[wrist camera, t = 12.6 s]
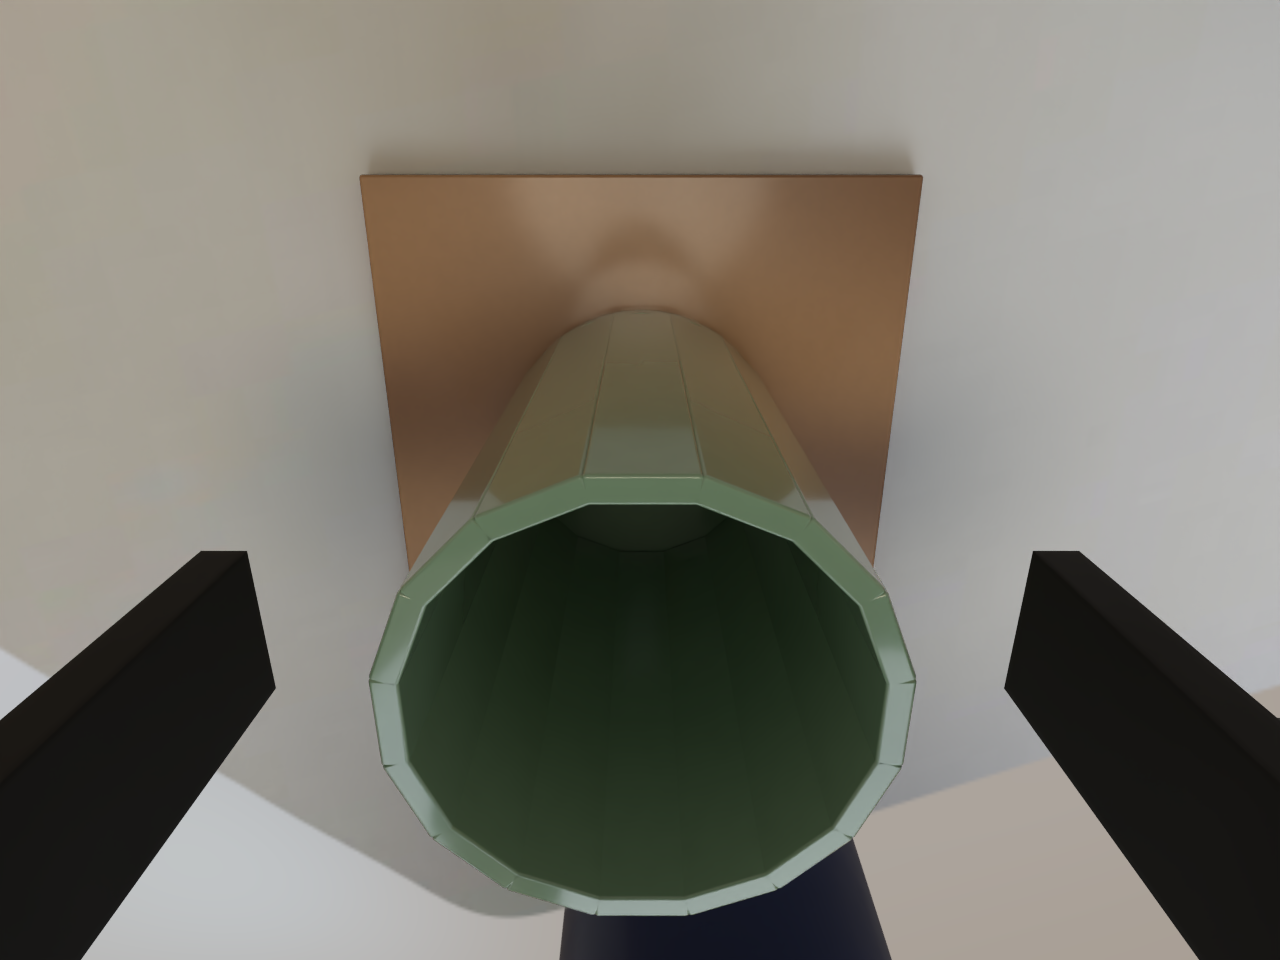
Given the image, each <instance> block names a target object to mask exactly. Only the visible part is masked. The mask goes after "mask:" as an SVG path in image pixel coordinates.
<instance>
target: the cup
mask: <svg viewBox="0 0 1280 960" xmlns="http://www.w3.org/2000/svg"><path fill="white" fill-rule="evenodd" d="M369 678H370V679H369V686H370V693H371V699H372V705H373V711H374V718H375V724H376V730H377V737H378V743H379V749H380V756H381V762H382V765H383V767H384V769H385V771H386V772H387V774H388V775H389V777H390V778H391V780H392V781H393V783H394V784H395V786H396V787H397V789H398V790H399V791H400V793H401V794H402V796H403V797H404V799H405V800H406V802H407V803H408V805H409V806H410V808H411V809H412V811H413V812H414V813H415V815H416V816H417V818H418V819H419V821H420V822H421V824H422V825H423V827H424V828H425V830H426V831H427V833H428V834H429V835H430V836H431V837H433V839H434V840H435V841H436V842H438V843H439V844H440V845H442V846H443V847H445V848H446V849H448V850H449V851H451V852H452V853H454V854H455V855H456V856H458V857H459V858H461V859H462V860H464V861H465V862H467V863H468V864H470V865H471V866H472V867H474V868H475V869H477V870H478V871H480V872H481V873H483V874H484V875H486V876H487V877H488V878H490V879H491V880H493V881H494V882H496V883H497V884H499V885H500V886H502V887H503V888H507V889H508V890H509V891H513V892H516V893H520V894H523V895H526V896H530V897H533V898H536V899H540V900H543V901H547V902H550V903H553V904H557V905H560V906H564V907H567V908H570V909H574V910H577V911H580V912H584V913H587V914H591V915H595V914H596V915H597V916H687V915H688V914H690V915H694V914H697V913H701V912H704V911H708V910H711V909H714V908H718V907H721V906H725V905H728V904H731V903H735V902H738V901H742V900H745V899H748V898H752V897H755V896H759V895H762V894H765V893H769V892H772V891H776V890H777V888H782V887H783V886H785V885H786V884H788V883H789V882H790V881H792V880H793V879H795V878H796V877H798V876H799V875H801V874H802V873H804V872H805V871H807V870H808V869H809V868H811V867H812V866H814V865H815V864H817V863H818V862H820V861H821V860H823V859H824V858H826V857H827V856H828V855H830V854H831V853H833V852H834V851H836V850H837V849H839V848H840V847H842V846H843V845H845V844H846V843H847V842H849V841H850V840H851V839H852V837H854V836H855V835H856V834H857V832H858V831H859V829H860V828H861V826H862V825H863V823H864V822H865V821H866V819H867V818H868V816H869V815H870V813H871V812H872V810H873V809H874V807H875V806H876V805H877V803H878V802H879V800H880V799H881V797H882V796H883V794H884V793H885V791H886V790H887V789H888V787H889V786H890V784H891V783H892V781H893V780H894V778H895V777H896V775H897V774H898V772H899V771H900V770H901V765H903V761H904V755H905V749H906V743H907V737H908V730H909V724H910V718H911V712H912V706H913V699H914V693H915V687H916V674H915V671H914V668H913V665H912V662H911V659H910V656H909V654H908V651H907V648H906V645H905V642H904V639H903V636H902V633H901V630H900V627H899V624H898V621H897V618H896V615H895V612H894V609H893V606H892V603H891V600H890V597H889V594H888V592H887V590H886V589H885V587H884V585H883V584H882V582H881V580H880V579H879V577H878V575H877V574H876V572H875V570H874V568H873V567H872V565H871V563H870V562H869V560H868V558H867V557H866V555H865V553H864V552H863V550H862V548H861V547H860V545H859V543H858V542H857V540H856V538H855V537H854V535H853V533H852V532H851V530H850V528H849V526H848V525H847V523H846V521H845V520H844V518H843V516H842V515H841V513H840V511H839V510H838V508H837V506H836V505H835V503H834V501H833V500H832V498H831V496H830V495H829V493H828V491H827V490H826V488H825V486H824V485H823V483H822V481H821V479H820V478H819V476H818V474H817V473H816V471H815V469H814V468H813V466H812V464H811V463H810V461H809V459H808V458H807V456H806V454H805V453H804V451H803V449H802V448H801V446H800V444H799V443H798V441H797V439H796V437H795V436H794V434H793V432H792V431H791V429H790V427H789V426H788V424H787V422H786V421H785V419H784V417H783V416H782V414H781V412H780V411H779V409H778V407H777V406H776V404H775V402H774V401H773V399H772V397H771V396H770V394H769V392H768V390H767V389H766V387H765V385H764V384H763V382H762V380H761V379H760V377H759V375H758V374H757V372H756V371H755V370H754V369H753V368H752V367H751V366H750V365H749V364H748V362H747V361H746V360H745V359H744V358H743V356H742V355H741V354H740V353H739V352H738V350H737V349H736V348H734V347H733V346H732V345H731V344H730V343H729V342H728V341H727V340H726V339H725V338H723V337H722V336H720V335H719V334H717V333H716V332H714V331H713V330H712V329H710V328H708V327H706V326H704V325H702V324H700V323H698V322H696V321H694V320H692V319H689V318H686V317H683V316H680V315H677V314H672V313H667V312H662V311H653V310H630V311H621V312H616V313H611V314H606V315H603V316H600V317H597V318H594V319H592V320H589V321H587V322H585V323H583V324H581V325H579V326H577V327H575V328H573V329H572V330H570V331H569V332H567V333H566V334H564V335H563V336H561V337H560V338H559V339H558V340H556V341H555V342H554V343H553V344H552V345H551V346H550V347H549V348H548V349H547V350H546V351H545V352H544V353H543V354H542V356H541V357H540V358H539V359H538V360H537V361H536V363H535V364H534V365H533V366H532V367H531V368H530V369H529V370H528V371H527V373H526V374H525V376H524V377H523V379H522V381H521V383H520V384H519V386H518V388H517V389H516V391H515V393H514V395H513V396H512V398H511V400H510V401H509V403H508V405H507V406H506V408H505V410H504V412H503V413H502V415H501V417H500V418H499V420H498V422H497V424H496V425H495V427H494V429H493V430H492V432H491V434H490V435H489V437H488V439H487V441H486V442H485V444H484V446H483V447H482V449H481V451H480V452H479V454H478V456H477V458H476V459H475V461H474V463H473V464H472V466H471V468H470V470H469V471H468V473H467V475H466V476H465V478H464V480H463V481H462V483H461V485H460V487H459V488H458V490H457V492H456V493H455V495H454V497H453V499H452V500H451V502H450V504H449V505H448V507H447V509H446V510H445V512H444V514H443V516H442V517H441V519H440V521H439V522H438V524H437V526H436V527H435V529H434V531H433V533H432V534H431V536H430V538H429V539H428V541H427V543H426V545H425V546H424V548H423V550H422V551H421V553H420V555H419V556H418V558H417V560H416V562H415V563H414V565H413V567H412V568H411V570H410V572H409V574H408V575H407V577H406V579H405V580H404V582H403V584H402V585H401V587H400V589H399V591H398V592H397V595H396V598H395V601H394V604H393V607H392V609H391V612H390V615H389V618H388V621H387V624H386V627H385V630H384V633H383V636H382V639H381V642H380V645H379V648H378V651H377V654H376V657H375V660H374V663H373V666H372V668H371V671H370V674H369Z"/></svg>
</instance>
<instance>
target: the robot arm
mask: <svg viewBox="0 0 1280 960" xmlns="http://www.w3.org/2000/svg"><path fill="white" fill-rule="evenodd" d="M275 689H276V687H275V682H274V677H273V673H272V668H271V663H270V658H269V654H268V649H267V644H266V639H265V635H264V630H263V625H262V620H261V616H260V611H259V606H258V601H257V597H256V592H255V587H254V582H253V578H252V573H251V568H250V563H249V559H248V554H247V551H200V552H199V553H198V554H197V555H196V556H195V557H193V558H192V559H191V560H190V561H189V562H187V563H186V564H185V565H184V566H183V567H181V568H180V569H179V570H178V571H177V572H176V573H174V574H173V575H172V576H171V577H170V578H168V579H167V580H166V581H165V582H164V583H163V584H161V585H160V586H159V587H158V588H157V589H155V590H154V591H153V592H152V593H151V594H149V595H148V596H147V597H146V598H145V599H144V600H142V601H141V602H140V603H139V604H138V605H136V606H135V607H134V608H133V609H132V610H130V611H129V612H128V613H127V614H126V615H125V616H123V617H122V618H121V619H120V620H119V621H117V622H116V623H115V624H114V625H113V626H111V627H110V628H109V629H108V630H107V631H106V632H104V633H103V634H102V635H101V636H100V637H98V638H97V639H96V640H95V641H94V642H93V643H91V644H90V645H89V646H88V647H87V648H85V649H84V650H83V651H82V652H81V653H79V654H78V655H77V656H76V657H75V658H74V659H72V660H71V661H70V662H69V663H68V664H66V665H65V666H64V667H63V668H62V669H60V670H59V671H58V672H57V673H56V674H55V675H53V676H52V677H51V678H50V679H49V680H47V681H46V682H45V683H44V684H43V685H41V686H40V687H39V688H38V689H37V690H36V691H34V692H33V693H32V694H31V695H30V696H28V697H27V698H26V699H25V700H24V701H23V702H21V703H20V704H19V705H18V706H17V707H15V708H14V709H13V710H12V711H11V712H9V713H8V714H7V715H6V716H5V717H4V718H2V719H1V720H0V960H81V959H82V957H83V956H84V955H85V953H86V952H87V950H88V949H89V948H90V946H91V945H92V943H93V942H94V941H95V939H96V938H97V936H98V935H99V934H100V932H101V931H102V930H103V928H104V927H105V925H106V924H107V923H108V921H109V920H110V918H111V917H112V916H113V914H114V913H115V911H116V910H117V909H118V907H119V906H120V904H121V903H122V902H123V900H124V899H125V897H126V896H127V895H128V893H129V892H130V891H131V889H132V888H133V886H134V885H135V884H136V882H137V881H138V879H139V878H140V877H141V875H142V874H143V872H144V871H145V870H146V868H147V867H148V866H149V864H150V863H151V861H152V860H153V859H154V857H155V856H156V854H157V853H158V852H159V850H160V849H161V847H162V846H163V845H164V843H165V842H166V840H167V839H168V838H169V836H170V835H171V833H172V832H173V831H174V829H175V828H176V826H177V825H178V824H179V822H180V821H181V820H182V818H183V817H184V815H185V814H186V813H187V811H188V810H189V808H190V807H191V806H192V804H193V803H194V801H195V800H196V799H197V797H198V796H199V794H200V793H201V792H202V790H203V789H204V787H205V786H206V785H207V783H208V782H209V781H210V779H211V778H212V776H213V775H214V774H215V772H216V771H217V769H218V768H219V767H220V765H221V764H222V762H223V761H224V760H225V758H226V757H227V755H228V754H229V753H230V751H231V750H232V749H233V747H234V746H235V744H236V743H237V742H238V740H239V739H240V737H241V736H242V735H243V733H244V732H245V730H246V729H247V728H248V726H249V725H250V723H251V722H252V721H253V719H254V718H255V716H256V715H257V714H258V712H259V711H260V710H261V708H262V707H263V705H264V704H265V703H266V701H267V700H268V698H269V697H270V696H271V694H272V693H273V691H274V690H275ZM1004 689H1005V690H1006V691H1007V693H1008V694H1009V696H1010V697H1011V698H1012V700H1013V701H1014V703H1015V704H1016V705H1017V707H1018V708H1019V710H1020V711H1021V712H1022V714H1023V715H1024V716H1025V718H1026V719H1027V721H1028V722H1029V723H1030V725H1031V726H1032V728H1033V729H1034V730H1035V732H1036V733H1037V735H1038V736H1039V737H1040V739H1041V740H1042V742H1043V743H1044V744H1045V746H1046V747H1047V749H1048V750H1049V751H1050V753H1051V754H1052V755H1053V757H1054V758H1055V760H1056V761H1057V762H1058V764H1059V765H1060V767H1061V768H1062V769H1063V771H1064V772H1065V774H1066V775H1067V776H1068V778H1069V779H1070V780H1071V782H1072V783H1073V785H1074V786H1075V787H1076V789H1077V790H1078V792H1079V793H1080V794H1081V796H1082V797H1083V799H1084V800H1085V801H1086V803H1087V804H1088V806H1089V807H1090V808H1091V810H1092V811H1093V812H1094V814H1095V815H1096V817H1097V818H1098V820H1099V821H1100V822H1101V824H1102V825H1103V826H1104V828H1105V829H1106V831H1107V832H1108V833H1109V835H1110V836H1111V838H1112V839H1113V840H1114V842H1115V843H1116V845H1117V846H1118V847H1119V849H1120V850H1121V852H1122V853H1123V854H1124V856H1125V857H1126V859H1127V860H1128V861H1129V863H1130V864H1131V866H1132V867H1133V868H1134V870H1135V871H1136V872H1137V874H1138V875H1139V877H1140V878H1141V879H1142V881H1143V882H1144V884H1145V885H1146V886H1147V888H1148V889H1149V891H1150V892H1151V893H1152V895H1153V896H1154V898H1155V899H1156V900H1157V902H1158V903H1159V904H1160V906H1161V907H1162V909H1163V910H1164V911H1165V913H1166V914H1167V916H1168V917H1169V918H1170V920H1171V921H1172V923H1173V924H1174V925H1175V927H1176V928H1177V929H1178V931H1179V932H1180V934H1181V935H1182V937H1183V938H1184V939H1185V941H1186V942H1187V943H1188V945H1189V946H1190V948H1191V949H1192V950H1193V952H1194V953H1195V955H1196V956H1197V957H1198V959H1199V960H1280V718H1276V717H1275V716H1274V715H1273V714H1272V713H1271V712H1269V711H1268V710H1267V709H1266V708H1265V707H1263V706H1262V705H1261V704H1260V703H1259V702H1257V701H1256V700H1255V699H1254V698H1253V697H1252V696H1250V695H1249V694H1248V693H1247V692H1246V691H1244V690H1243V689H1242V688H1241V687H1240V686H1239V685H1237V684H1236V683H1235V682H1234V681H1233V680H1231V679H1230V678H1229V677H1228V676H1227V675H1225V674H1224V673H1223V672H1222V671H1221V670H1220V669H1218V668H1217V667H1216V666H1215V665H1214V664H1212V663H1211V662H1210V661H1209V660H1208V659H1206V658H1205V657H1204V656H1203V655H1202V654H1201V653H1199V652H1198V651H1197V650H1196V649H1195V648H1193V647H1192V646H1191V645H1190V644H1189V643H1187V642H1186V641H1185V640H1184V639H1183V638H1182V637H1180V636H1179V635H1178V634H1177V633H1176V632H1174V631H1173V630H1172V629H1171V628H1170V627H1169V626H1167V625H1166V624H1165V623H1164V622H1163V621H1161V620H1160V619H1159V618H1158V617H1157V616H1155V615H1154V614H1153V613H1152V612H1151V611H1150V610H1148V609H1147V608H1146V607H1145V606H1144V605H1142V604H1141V603H1140V602H1139V601H1138V600H1136V599H1135V598H1134V597H1133V596H1132V595H1131V594H1129V593H1128V592H1127V591H1126V590H1125V589H1123V588H1122V587H1121V586H1120V585H1119V584H1117V583H1116V582H1115V581H1114V580H1113V579H1112V578H1110V577H1109V576H1108V575H1107V574H1106V573H1104V572H1103V571H1102V570H1101V569H1100V568H1099V567H1097V566H1096V565H1095V564H1094V563H1093V562H1091V561H1090V560H1089V559H1088V558H1087V557H1085V556H1084V555H1083V554H1082V553H1081V552H1080V551H1033V554H1032V559H1031V563H1030V568H1029V573H1028V578H1027V582H1026V587H1025V592H1024V597H1023V601H1022V606H1021V611H1020V616H1019V620H1018V625H1017V630H1016V635H1015V639H1014V644H1013V649H1012V654H1011V658H1010V663H1009V668H1008V673H1007V677H1006V682H1005V687H1004Z"/></svg>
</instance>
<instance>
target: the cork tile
mask: <svg viewBox="0 0 1280 960" xmlns="http://www.w3.org/2000/svg"><path fill="white" fill-rule="evenodd" d="M922 181H923V176H922V175H360V186H361V194H362V202H363V209H364V217H365V225H366V233H367V241H368V249H369V257H370V265H371V273H372V281H373V288H374V296H375V304H376V312H377V320H378V328H379V336H380V344H381V352H382V360H383V368H384V375H385V383H386V391H387V399H388V407H389V415H390V423H391V431H392V439H393V447H394V455H395V462H396V470H397V478H398V486H399V494H400V502H401V510H402V518H403V526H404V534H405V541H406V549H407V557H408V565H409V572H410V570H411V568H412V567H413V565H414V563H415V562H416V560H417V558H418V556H419V555H420V553H421V551H422V550H423V548H424V546H425V545H426V543H427V541H428V539H429V538H430V536H431V534H432V533H433V531H434V529H435V527H436V526H437V524H438V522H439V521H440V519H441V517H442V516H443V514H444V512H445V510H446V509H447V507H448V505H449V504H450V502H451V500H452V499H453V497H454V495H455V493H456V492H457V490H458V488H459V487H460V485H461V483H462V481H463V480H464V478H465V476H466V475H467V473H468V471H469V470H470V468H471V466H472V464H473V463H474V461H475V459H476V458H477V456H478V454H479V452H480V451H481V449H482V447H483V446H484V444H485V442H486V441H487V439H488V437H489V435H490V434H491V432H492V430H493V429H494V427H495V425H496V424H497V422H498V420H499V418H500V417H501V415H502V413H503V412H504V410H505V408H506V406H507V405H508V403H509V401H510V400H511V398H512V396H513V395H514V393H515V391H516V389H517V388H518V386H519V384H520V383H521V381H522V379H523V377H524V376H525V374H526V373H527V371H528V370H529V369H530V368H531V367H532V366H533V365H534V364H535V363H536V361H537V360H538V359H539V358H540V357H541V356H542V354H543V353H544V352H545V351H546V350H547V349H548V348H549V347H550V346H551V345H552V344H553V343H554V342H555V341H556V340H558V339H559V338H560V337H561V336H563V335H564V334H566V333H567V332H569V331H570V330H572V329H573V328H575V327H577V326H579V325H581V324H583V323H585V322H587V321H589V320H592V319H594V318H597V317H600V316H603V315H606V314H611V313H616V312H621V311H630V310H653V311H662V312H667V313H672V314H677V315H680V316H683V317H686V318H689V319H692V320H694V321H696V322H698V323H700V324H702V325H704V326H706V327H708V328H710V329H712V330H713V331H714V332H716V333H717V334H719V335H720V336H722V337H723V338H725V339H726V340H727V341H728V342H729V343H730V344H731V345H732V346H733V347H734V348H736V349H737V350H738V352H739V353H740V354H741V355H742V356H743V358H744V359H745V360H746V361H747V362H748V364H749V365H750V366H751V367H752V368H753V369H754V370H755V371H756V372H757V374H758V375H759V377H760V379H761V380H762V382H763V384H764V385H765V387H766V389H767V390H768V392H769V394H770V396H771V397H772V399H773V401H774V402H775V404H776V406H777V407H778V409H779V411H780V412H781V414H782V416H783V417H784V419H785V421H786V422H787V424H788V426H789V427H790V429H791V431H792V432H793V434H794V436H795V437H796V439H797V441H798V443H799V444H800V446H801V448H802V449H803V451H804V453H805V454H806V456H807V458H808V459H809V461H810V463H811V464H812V466H813V468H814V469H815V471H816V473H817V474H818V476H819V478H820V479H821V481H822V483H823V485H824V486H825V488H826V490H827V491H828V493H829V495H830V496H831V498H832V500H833V501H834V503H835V505H836V506H837V508H838V510H839V511H840V513H841V515H842V516H843V518H844V520H845V521H846V523H847V525H848V526H849V528H850V530H851V532H852V533H853V535H854V537H855V538H856V540H857V542H858V543H859V545H860V547H861V548H862V550H863V552H864V553H865V555H866V557H867V558H868V560H869V562H870V563H871V565H872V567H873V565H874V558H875V550H876V542H877V534H878V526H879V518H880V511H881V503H882V495H883V487H884V479H885V471H886V463H887V456H888V448H889V440H890V432H891V424H892V416H893V409H894V401H895V393H896V385H897V377H898V369H899V362H900V354H901V346H902V338H903V330H904V322H905V315H906V307H907V299H908V291H909V283H910V275H911V267H912V260H913V252H914V244H915V236H916V228H917V220H918V213H919V205H920V197H921V189H922Z"/></svg>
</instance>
